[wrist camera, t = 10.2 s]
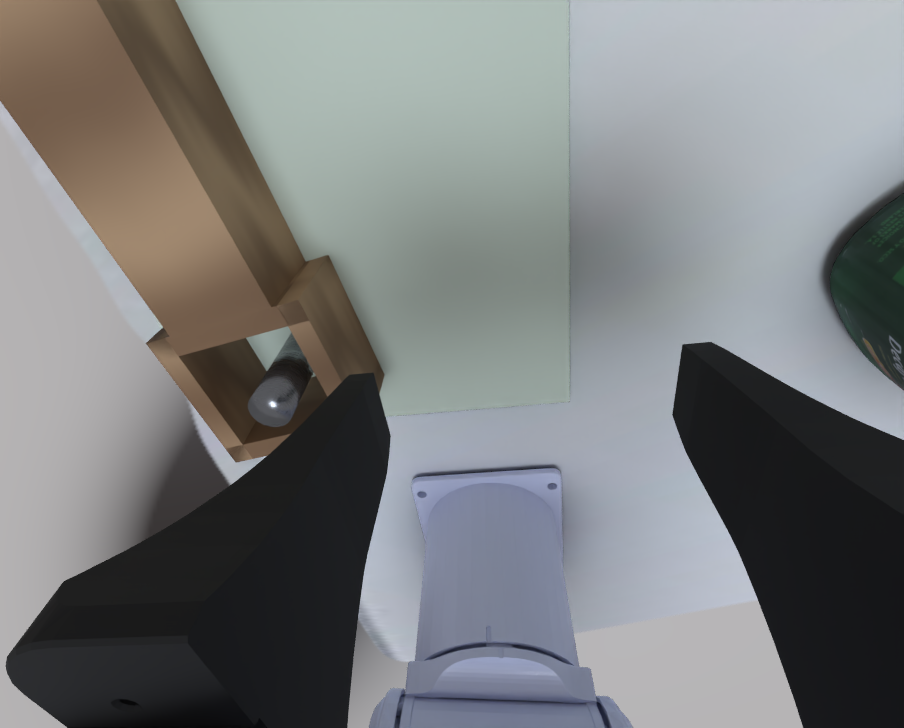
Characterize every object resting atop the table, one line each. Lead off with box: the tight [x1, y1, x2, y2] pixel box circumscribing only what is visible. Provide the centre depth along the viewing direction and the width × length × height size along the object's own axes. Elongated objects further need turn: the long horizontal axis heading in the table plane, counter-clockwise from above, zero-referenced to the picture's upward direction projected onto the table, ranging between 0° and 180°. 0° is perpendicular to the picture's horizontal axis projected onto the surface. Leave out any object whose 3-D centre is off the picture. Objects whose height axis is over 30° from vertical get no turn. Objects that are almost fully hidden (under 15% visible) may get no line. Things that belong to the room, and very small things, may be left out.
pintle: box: [248, 332, 313, 427], centre depth 20 cm, size 2×2×5 cm
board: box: [152, 0, 570, 417], centre depth 17 cm, size 27×18×1 cm, turn 8°
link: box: [0, 0, 385, 462], centre depth 16 cm, size 20×6×4 cm, turn 17°
